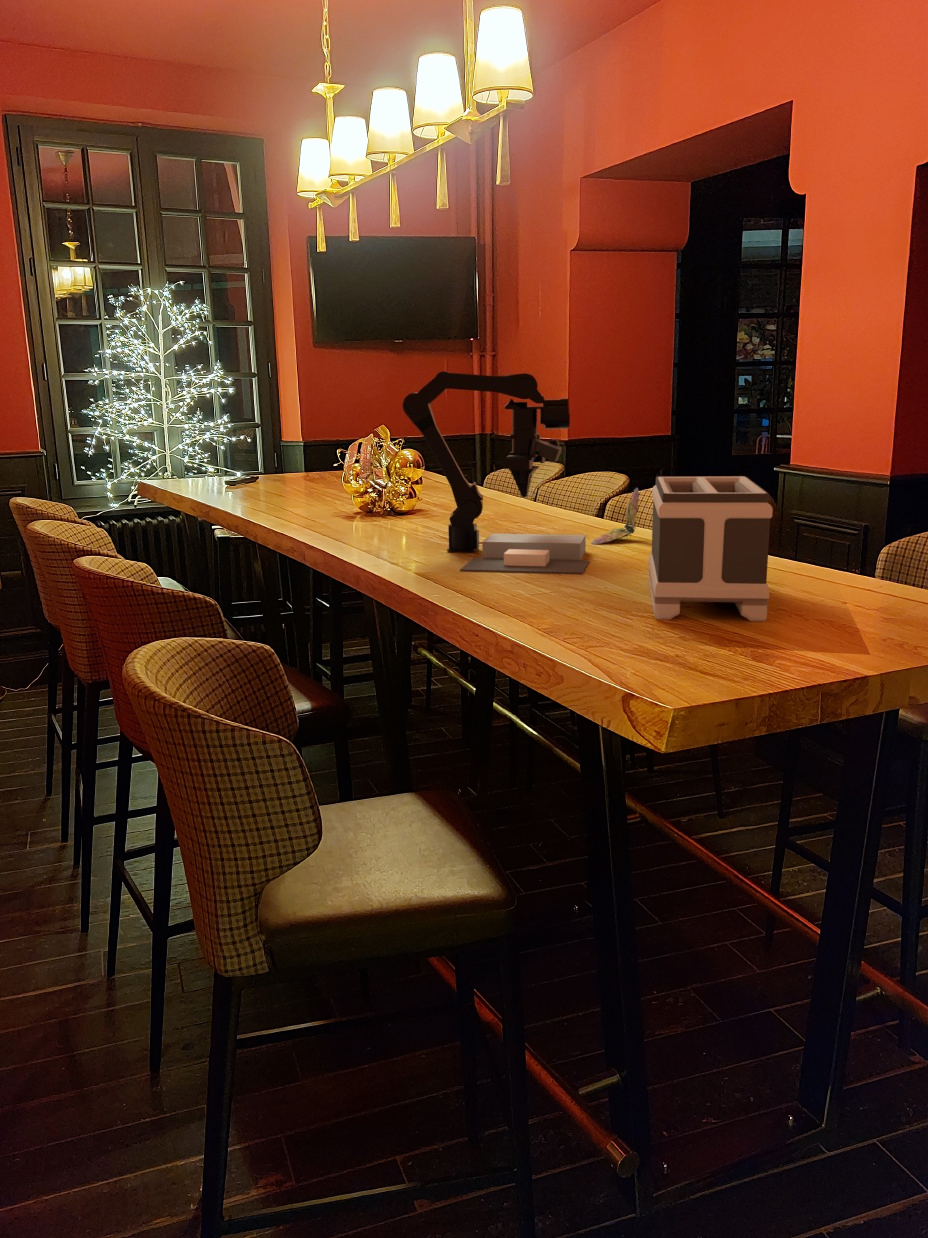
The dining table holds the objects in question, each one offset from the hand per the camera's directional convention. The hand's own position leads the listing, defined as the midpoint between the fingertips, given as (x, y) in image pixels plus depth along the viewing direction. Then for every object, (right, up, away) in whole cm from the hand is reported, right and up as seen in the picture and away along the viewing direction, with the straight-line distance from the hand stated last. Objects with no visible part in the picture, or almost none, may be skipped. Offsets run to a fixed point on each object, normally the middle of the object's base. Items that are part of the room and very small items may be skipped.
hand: (524, 496), depth 224 cm
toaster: (+29, -25, -51) cm, 64 cm away
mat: (-1, -17, -18) cm, 25 cm away
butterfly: (+23, -10, +13) cm, 28 cm away
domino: (-1, -14, -17) cm, 22 cm away
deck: (+2, -14, -5) cm, 15 cm away
